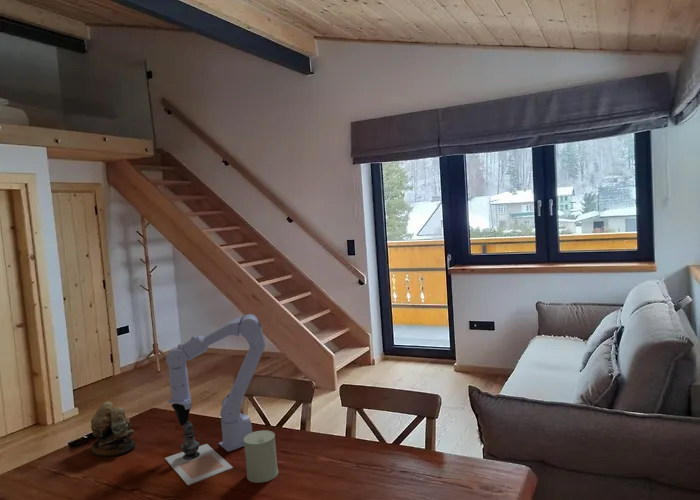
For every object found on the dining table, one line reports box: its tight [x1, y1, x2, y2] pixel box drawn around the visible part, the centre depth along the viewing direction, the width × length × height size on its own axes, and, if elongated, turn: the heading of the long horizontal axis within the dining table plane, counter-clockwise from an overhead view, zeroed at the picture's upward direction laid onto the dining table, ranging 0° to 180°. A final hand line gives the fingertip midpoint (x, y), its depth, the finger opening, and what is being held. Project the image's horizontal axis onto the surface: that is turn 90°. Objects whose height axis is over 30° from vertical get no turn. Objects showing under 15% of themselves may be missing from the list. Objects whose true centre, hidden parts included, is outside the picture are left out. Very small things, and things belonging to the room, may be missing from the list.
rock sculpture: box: [89, 401, 136, 458], centre depth 177 cm, size 18×12×17 cm, turn 67°
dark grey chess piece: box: [180, 419, 201, 460], centre depth 166 cm, size 6×6×12 cm
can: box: [243, 429, 279, 484], centre depth 151 cm, size 9×9×12 cm
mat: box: [164, 443, 234, 486], centre depth 162 cm, size 14×22×1 cm, turn 36°
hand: (183, 424), depth 170 cm, fingers closed
